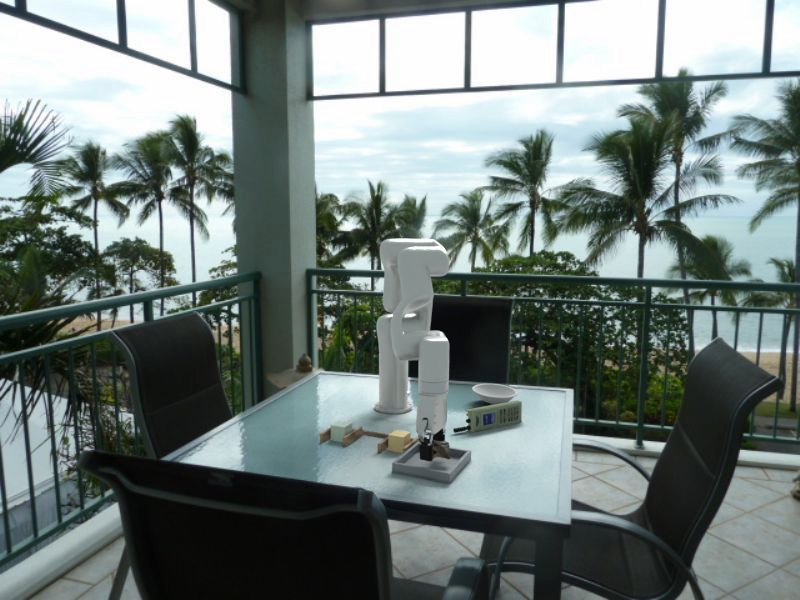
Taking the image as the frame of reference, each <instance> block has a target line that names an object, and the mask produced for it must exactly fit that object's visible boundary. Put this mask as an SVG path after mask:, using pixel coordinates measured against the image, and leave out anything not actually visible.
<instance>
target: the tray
mask: <svg viewBox="0 0 800 600" xmlns="http://www.w3.org/2000/svg"><path fill="white" fill-rule="evenodd" d="M449 450H450V453H451V454H450V459H446V458H441V457H436V458H434V459H433V460H432V461H425V460H421V459H420V444H419V442H417V443H416V444H414V445H413V446H412V447H411V448H409V449H408V450H407V451H406V452H405V453H401V455H400V456H399V457H397V458H396V459H395V460H394V461H392V463H391V474H392V473H393V474H397V475H402V476H406V477H411V478H412V477H413V478H416V479H417V478H418V479H422V480H427V481H432V482H438V483H442V484H447V485H451V483H452V482H453V481H454V480H455V479H456V477H457V476H458V475H459V474H460V473H461V472H462V471H463V470H464V469H465V467H466V466H468V464H469V463H470V462H471V461H472V450H469V449H464V448H457V447H451V446H450V447H449Z"/></svg>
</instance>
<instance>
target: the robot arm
mask: <svg viewBox="0 0 800 600" xmlns="http://www.w3.org/2000/svg"><path fill="white" fill-rule="evenodd" d="M379 257H380V260H381V263H382V266H383V270H384V277H383V290H382V292H383V295H382V305H383V308H384V310H385V311H386V312H388V313H387V314H383V315H381V316H379V318H378V319H377V321H376V336H377V342H378V343H377V344H378V352H379V353H378V366H379V367H378V400H379V401H377V402H375V403H374V407H373V408H374V410H376V412H380V413H383V414H396V415H397V414H404V413H408V412H410V411H411V410H413V403H411V402H410V401H409V397H410V396H411V393H412V392H411V391H410V390H409V361H418V381H417V382H418V384H417V385H418V389H417V390H418V391H417V392H418V394H419V395H418V398H417V399H418V400H417V405H416V420H415V431H416V433H417V436H418V437H419V444H420V459H421V460H425V461H432V460H433V445H431V444H432V439H434V440H436V441H446V425H447V420H448V397H447V395H448V394H449V392H450V391H449V384H450V383H449V381H450V380H449V379H450V373H449V372H450V342H449V340H448V338H447V337H446V335H445V333H444V332H443V331H440V330H431V323H432V312H433V303H434V301H433V300H434V295H435V293H434V288H433V282H432V277H443V276H446V275H447V274H448V272H449V269H450V258H449V255H448V251H447V250H446V249H445V247H444V246H443V245H442V244H441V243H439V242H438V241H437V240H436V239H432V238H388V239H387V238H386V239H384V240H383V241H382V242H381V243H380V244H379ZM427 436H428V437H427ZM428 439H429V440H428Z"/></svg>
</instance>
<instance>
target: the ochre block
mask: <svg viewBox="0 0 800 600" xmlns="http://www.w3.org/2000/svg"><path fill="white" fill-rule="evenodd" d="M411 433H412V432H411V431H406V430H400V429H394V430H393V431H391V432H390V433H388V434H389V435H388V448H387V450H388V451H389V452H395V453H401V454H403V448H404V447H405V446H406V445H407V444H408V443H410V438H411Z"/></svg>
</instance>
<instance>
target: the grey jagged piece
mask: <svg viewBox="0 0 800 600" xmlns="http://www.w3.org/2000/svg"><path fill="white" fill-rule="evenodd" d="M427 439H428V440H429V438H427ZM431 445H433V459H434V458H436V457H441V458H446V459H450V454H451V453H450V450H449V447H451V446H450V443H449V441H446V440H445V441H436V440H434V439H432V444H431Z"/></svg>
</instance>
